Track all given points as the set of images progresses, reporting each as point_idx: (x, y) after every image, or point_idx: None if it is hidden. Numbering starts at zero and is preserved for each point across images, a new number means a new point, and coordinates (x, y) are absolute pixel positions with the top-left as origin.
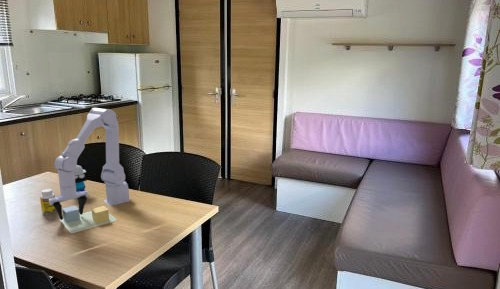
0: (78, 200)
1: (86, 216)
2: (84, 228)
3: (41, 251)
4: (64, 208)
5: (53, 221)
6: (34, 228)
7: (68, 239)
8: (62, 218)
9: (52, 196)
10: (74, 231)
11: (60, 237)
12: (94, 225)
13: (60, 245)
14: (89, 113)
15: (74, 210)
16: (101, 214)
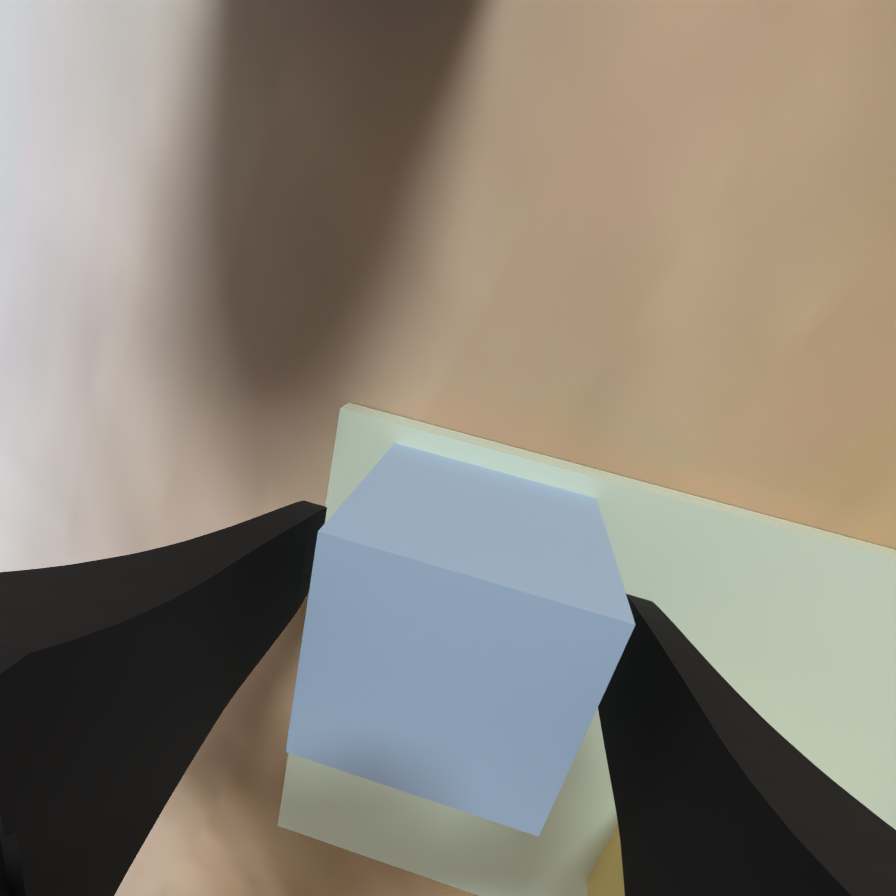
0: (745, 886)
1: None
2: (422, 856)
3: None
4: (358, 568)
5: (279, 349)
6: (28, 351)
7: (236, 838)
8: (299, 594)
9: None
10: (320, 821)
11: (197, 763)
12: (534, 890)
13: (156, 852)
14: None
15: (449, 804)
16: None
